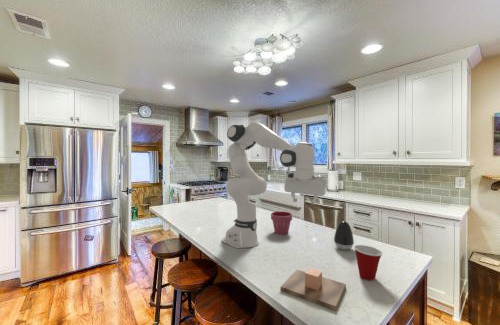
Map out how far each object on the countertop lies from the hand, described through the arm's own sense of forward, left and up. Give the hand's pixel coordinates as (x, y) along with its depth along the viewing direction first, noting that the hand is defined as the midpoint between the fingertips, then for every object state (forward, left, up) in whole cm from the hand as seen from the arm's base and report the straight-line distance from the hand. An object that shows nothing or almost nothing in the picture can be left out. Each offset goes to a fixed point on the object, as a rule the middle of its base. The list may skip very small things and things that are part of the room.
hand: (303, 202), depth 112 cm
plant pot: (-27, +31, -28) cm, 50 cm away
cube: (+13, -23, -27) cm, 37 cm away
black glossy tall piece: (+14, +26, -28) cm, 41 cm away
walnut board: (+13, -23, -28) cm, 38 cm away
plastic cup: (+29, -1, -28) cm, 40 cm away
